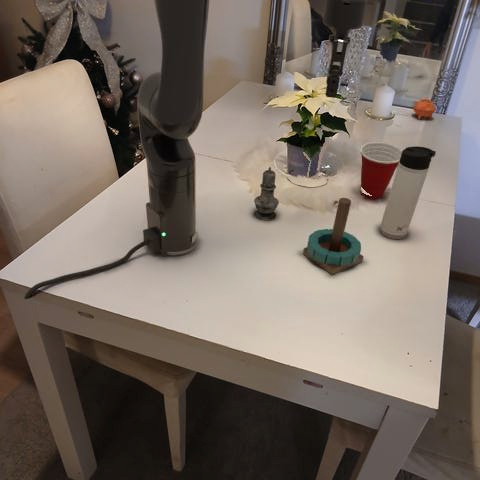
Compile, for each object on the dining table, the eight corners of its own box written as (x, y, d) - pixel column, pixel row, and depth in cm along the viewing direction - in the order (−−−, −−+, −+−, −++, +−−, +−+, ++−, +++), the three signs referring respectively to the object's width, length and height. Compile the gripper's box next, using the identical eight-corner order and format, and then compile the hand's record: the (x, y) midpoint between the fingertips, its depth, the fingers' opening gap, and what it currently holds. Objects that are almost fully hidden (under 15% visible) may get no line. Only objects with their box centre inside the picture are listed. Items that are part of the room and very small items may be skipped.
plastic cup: (346, 199, 123) (356, 153, 115) (354, 182, 131) (364, 138, 123) (389, 208, 121) (402, 162, 113) (394, 190, 128) (407, 146, 120)
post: (332, 275, 97) (345, 216, 89) (302, 254, 103) (312, 196, 94) (362, 262, 102) (377, 204, 93) (332, 242, 107) (344, 186, 98)
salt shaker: (275, 222, 112) (281, 174, 104) (250, 218, 113) (254, 170, 105) (278, 210, 116) (284, 163, 108) (255, 207, 117) (259, 159, 109)
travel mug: (403, 243, 108) (431, 157, 95) (375, 233, 111) (399, 149, 98) (411, 231, 112) (439, 148, 99) (384, 222, 115) (408, 140, 102)
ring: (331, 271, 96) (333, 263, 94) (295, 245, 102) (297, 237, 101) (370, 256, 101) (372, 248, 100) (334, 231, 108) (335, 223, 106)
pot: (431, 122, 171) (432, 102, 167) (409, 122, 175) (410, 103, 171) (437, 116, 176) (439, 96, 172) (416, 116, 180) (417, 97, 176)
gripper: (327, -12, 93) (313, 79, 103) (325, -1, 82) (311, 99, 93) (366, -8, 92) (348, 82, 103) (369, 3, 81) (349, 103, 92)
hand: (330, 90), depth 98 cm, fingers open, 8 cm apart
